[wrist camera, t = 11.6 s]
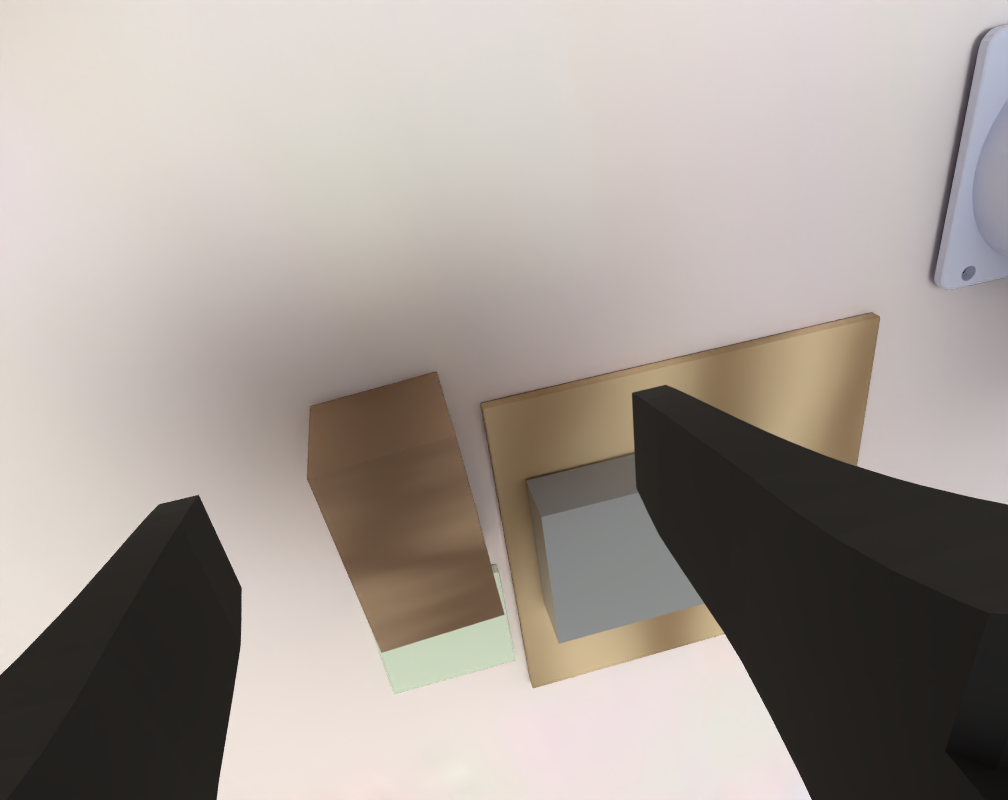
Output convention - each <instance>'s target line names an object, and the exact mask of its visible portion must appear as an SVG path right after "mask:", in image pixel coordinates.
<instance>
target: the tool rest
mask: <svg viewBox="0 0 1008 800" xmlns="http://www.w3.org/2000/svg"><path fill="white" fill-rule="evenodd" d="M491 567H492V570H493V574H494V578H495V581H496V585H497V589H498V592H499V596H500V599H501V603H502V607H503V610H504V614H505V615H502V616H499V617H496V618H493V619H489V620H486V621H483V622H480V623H476V624H473V625H470V626H467V627H464V628H460V629H457V630H454V631H451V632H447V633H444V634H441V635H438V636H435V637H431V638H428V639H425V640H422V641H418V642H415V643H412V644H409V645H406V646H402V647H399V648H396V649H393V650H389V651H386V652H383V653H381V650H380V648H379V646H378V643H377V641H376V643H377V646H378V649H379V652H380V655H381V658H382V660H383V663H384V666H385V669H386V672H387V675H388V678H389V681H390V684H391V687H392V690H393V693H394V694H397V693H401V692H404V691H408V690H411V689H415V688H419V687H422V686H426V685H429V684H433V683H437V682H440V681H444V680H447V679H451V678H455V677H458V676H462V675H465V674H469V673H473V672H476V671H480V670H483V669H487V668H491V667H494V666H498V665H501V664H505V663H508V662H512V661H515V656H514V651H513V645H512V640H511V635H510V630H509V624H508V619H507V614H506V609H505V604H504V598H503V593H502V588H501V583H500V577H499V572H498V569H497V565H492V566H491ZM374 637H375V636H374ZM375 640H376V639H375Z"/></svg>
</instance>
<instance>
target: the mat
mask: <svg viewBox="0 0 1008 800" xmlns="http://www.w3.org/2000/svg"><path fill="white" fill-rule="evenodd" d="M879 321H880V316H878V315H876V314H874V313H868V314H864V315H859V316H855V317H851V318H846V319H842V320H838V321H834V322H829V323H825V324H821V325H816V326H812V327H808V328H803V329H799V330H795V331H790V332H786V333H782V334H777V335H773V336H769V337H765V338H760V339H756V340H752V341H747V342H743V343H739V344H734V345H730V346H726V347H721V348H717V349H713V350H708V351H704V352H700V353H696V354H691V355H687V356H683V357H678V358H674V359H670V360H665V361H661V362H657V363H652V364H648V365H644V366H639V367H635V368H631V369H627V370H622V371H618V372H614V373H609V374H605V375H601V376H596V377H592V378H588V379H583V380H579V381H575V382H571V383H566V384H562V385H558V386H553V387H549V388H545V389H540V390H536V391H532V392H527V393H523V394H519V395H514V396H510V397H506V398H502V399H497V400H493V401H489V402H484V403H481V407H482V412H483V418H484V424H485V429H486V435H487V440H488V446H489V451H490V457H491V463H492V468H493V474H494V479H495V485H496V491H497V496H498V502H499V507H500V513H501V519H502V524H503V530H504V535H505V541H506V547H507V552H508V558H509V563H510V569H511V575H512V580H513V586H514V591H515V597H516V602H517V608H518V614H519V619H520V625H521V630H522V636H523V642H524V647H525V653H526V658H527V664H528V670H529V675H530V681H531V684H532V687H533V688H536V687H540V686H543V685H547V684H550V683H554V682H557V681H561V680H564V679H568V678H571V677H575V676H578V675H582V674H586V673H589V672H593V671H596V670H600V669H603V668H607V667H610V666H614V665H617V664H621V663H624V662H628V661H631V660H635V659H638V658H642V657H645V656H649V655H652V654H656V653H659V652H663V651H666V650H670V649H673V648H677V647H681V646H684V645H688V644H691V643H695V642H698V641H702V640H705V639H709V638H712V637H716V636H719V635H723V634H724V632H723V631H722V629H721V628H720V626H719V625H718V623H717V622H716V620H715V619H714V617H713V616H712V614H711V613H710V611H709V610H708V608H707V607H706V605H705V604H701V605H698V606H694V607H690V608H687V609H683V610H679V611H676V612H672V613H669V614H665V615H661V616H658V617H654V618H650V619H647V620H643V621H640V622H636V623H632V624H629V625H625V626H621V627H618V628H614V629H611V630H607V631H603V632H600V633H596V634H593V635H589V636H585V637H582V638H578V639H574V640H571V641H567V642H564V643H560V644H559V643H558V641H557V638H556V635H555V632H554V630H553V627H552V624H551V621H550V618H549V616H548V613H547V610H546V607H545V605H544V600H543V593H542V586H541V579H540V572H539V566H538V559H537V552H536V545H535V538H534V532H533V525H532V518H531V511H530V504H529V498H528V491H527V484H526V480H531V479H535V478H539V477H543V476H547V475H551V474H555V473H559V472H563V471H567V470H571V469H575V468H579V467H583V466H588V465H592V464H596V463H600V462H604V461H608V460H612V459H616V458H620V457H624V456H628V455H632V454H635V452H634V431H633V409H632V393H633V392H637V391H641V390H645V389H650V388H654V387H658V386H662V385H668V386H670V387H673V388H675V389H677V390H680V391H682V392H684V393H686V394H688V395H690V396H692V397H695V398H697V399H699V400H701V401H703V402H705V403H707V404H709V405H711V406H713V407H715V408H717V409H719V410H722V411H724V412H726V413H728V414H730V415H732V416H734V417H736V418H738V419H740V420H743V421H745V422H747V423H749V424H751V425H753V426H756V427H758V428H760V429H762V430H764V431H767V432H769V433H771V434H774V435H776V436H778V437H781V438H783V439H785V440H788V441H790V442H792V443H795V444H798V445H800V446H803V447H805V448H808V449H810V450H813V451H815V452H818V453H820V454H823V455H825V456H828V457H831V458H834V459H836V460H839V461H842V462H845V463H848V464H851V465H854V466H857V461H858V455H859V449H860V442H861V436H862V429H863V423H864V417H865V410H866V404H867V398H868V391H869V385H870V379H871V372H872V366H873V359H874V353H875V347H876V340H877V334H878V328H879Z"/></svg>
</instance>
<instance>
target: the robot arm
mask: <svg viewBox="0 0 1008 800" xmlns="http://www.w3.org/2000/svg"><path fill="white" fill-rule="evenodd" d="M965 269H966V270H965ZM964 270H965V272H964V273H963V271H964ZM962 273H963V274H962ZM1005 277H1008V25H1002V26H997V27H995V28H993V29H991V30H990V31H989V32H988V33H987V34H986V35H985V36H984V38H983V39H982V41H981V44H980V47H979V50H978V55H977V61H976V66H975V71H974V76H973V81H972V86H971V91H970V97H969V102H968V107H967V112H966V117H965V122H964V127H963V132H962V138H961V143H960V148H959V153H958V158H957V163H956V168H955V174H954V179H953V184H952V189H951V194H950V199H949V204H948V210H947V215H946V220H945V225H944V230H943V235H942V240H941V245H940V251H939V256H938V261H937V266H936V271H935V283H936V285H938V286H939V287H941V288H944V289H946V290H953V289H957V288H961V287H966V286H970V285H974V284H979V283H983V282H987V281H992V280H996V279H1000V278H1005ZM632 409H633V431H634V452H635V473H636V488H637V491H638V493H639V495H640V497H641V499H642V501H643V503H644V506H645V508H646V510H647V512H648V514H649V516H650V518H651V520H652V522H653V524H654V526H655V528H656V530H657V532H658V534H659V536H660V537H661V539H662V540H663V542H664V544H665V545H666V547H667V548H668V550H669V551H670V553H671V554H672V556H673V557H674V559H675V560H676V562H677V563H678V565H679V566H680V568H681V569H682V571H683V572H684V574H685V575H686V577H687V578H688V580H689V581H690V583H691V584H692V586H693V587H694V589H695V590H696V592H697V593H698V595H699V596H700V598H701V599H702V601H703V602H704V604H705V605H706V607H707V608H708V610H709V611H710V613H711V614H712V616H713V617H714V619H715V620H716V622H717V623H718V625H719V626H720V628H721V629H722V631H723V632H724V634H725V635H726V636H727V638H728V640H729V641H730V643H731V645H732V646H733V648H734V650H735V651H736V653H737V654H738V656H739V658H740V659H741V661H742V663H743V665H744V667H745V669H746V670H747V672H748V674H749V676H750V678H751V680H752V682H753V684H754V686H755V687H756V689H757V691H758V693H759V695H760V697H761V699H762V701H763V703H764V704H765V706H766V708H767V710H768V712H769V714H770V716H771V718H772V720H773V722H774V724H775V726H776V728H777V730H778V732H779V734H780V736H781V738H782V740H783V742H784V744H785V746H786V748H787V750H788V752H789V754H790V756H791V758H792V760H793V762H794V764H795V766H796V768H797V770H798V772H799V774H800V776H801V778H802V780H803V782H804V784H805V786H806V788H807V790H808V792H809V795H810V797H811V799H812V800H1008V505H1007V504H1002V503H997V502H992V501H987V500H982V499H977V498H972V497H968V496H963V495H959V494H955V493H951V492H947V491H943V490H938V489H934V488H930V487H926V486H922V485H918V484H914V483H910V482H907V481H903V480H899V479H896V478H892V477H889V476H886V475H883V474H879V473H876V472H873V471H870V470H867V469H864V468H860V467H857V466H854V465H851V464H848V463H845V462H842V461H839V460H836V459H834V458H831V457H828V456H825V455H823V454H820V453H818V452H815V451H813V450H810V449H808V448H805V447H803V446H800V445H798V444H795V443H792V442H790V441H788V440H785V439H783V438H781V437H778V436H776V435H774V434H771V433H769V432H767V431H764V430H762V429H760V428H758V427H756V426H753V425H751V424H749V423H747V422H745V421H743V420H740V419H738V418H736V417H734V416H732V415H730V414H728V413H726V412H724V411H722V410H719V409H717V408H715V407H713V406H711V405H709V404H707V403H705V402H703V401H701V400H699V399H697V398H695V397H692V396H690V395H688V394H686V393H684V392H682V391H680V390H677V389H675V388H673V387H670V386H668V385H662V386H658V387H654V388H650V389H645V390H641V391H637V392H633V393H632ZM241 592H242V588H241V586H240V583H239V581H238V579H237V577H236V575H235V573H234V570H233V568H232V566H231V564H230V562H229V560H228V557H227V555H226V553H225V551H224V549H223V547H222V544H221V542H220V540H219V538H218V536H217V534H216V531H215V529H214V527H213V525H212V523H211V521H210V518H209V516H208V514H207V512H206V510H205V508H204V505H203V503H202V501H201V499H200V497H199V495H197V496H192V497H188V498H184V499H180V500H176V501H171V502H167V503H163V504H159V505H158V506H157V507H156V508H155V509H154V510H153V511H152V512H151V513H150V514H149V515H148V516H147V517H146V518H145V520H144V521H143V522H142V523H141V524H140V525H139V526H138V527H137V529H136V530H135V531H134V532H133V533H132V534H131V535H130V537H129V538H128V539H127V540H126V541H125V542H124V543H123V545H122V546H121V547H120V548H119V549H118V550H117V552H116V553H115V554H114V555H113V556H112V557H111V558H110V560H109V561H108V562H107V563H106V564H105V565H104V566H103V567H102V569H101V570H100V571H99V572H98V573H97V574H96V575H95V577H94V578H93V579H92V580H91V581H90V582H89V583H88V584H87V586H86V587H85V588H84V589H83V590H82V591H81V592H80V594H79V595H78V596H77V597H76V598H75V599H74V600H73V601H72V602H71V603H70V604H69V605H68V607H67V608H66V609H65V610H64V611H63V612H62V613H61V614H60V615H59V616H58V617H57V618H56V619H55V620H54V621H53V622H52V623H51V624H50V625H49V626H48V627H47V628H46V630H45V631H44V632H43V633H42V634H41V635H40V636H39V637H38V638H37V639H36V640H35V641H34V642H33V643H32V644H31V645H30V646H29V647H28V648H27V649H26V650H25V651H24V652H23V654H22V655H21V656H20V657H19V658H18V659H16V660H15V661H14V662H13V663H12V664H11V665H10V666H9V667H8V668H7V669H6V670H5V671H4V672H3V673H2V674H1V675H0V800H217V791H218V783H219V777H220V770H221V764H222V758H223V752H224V746H225V740H226V734H227V728H228V722H229V716H230V710H231V704H232V698H233V691H234V685H235V679H236V672H237V666H238V659H239V652H240V645H241Z"/></svg>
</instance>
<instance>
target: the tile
mask: <svg viewBox="0 0 1008 800" xmlns="http://www.w3.org/2000/svg"><path fill="white" fill-rule="evenodd" d="M526 484H527V491H528V498H529V504H530V511H531V518H532V525H533V532H534V538H535V545H536V552H537V559H538V566H539V572H540V579H541V586H542V593H543V600H544V605H545V607H546V610H547V613H548V616H549V618H550V621H551V624H552V627H553V630H554V632H555V635H556V638H557V641H558V643H559V644H560V643H564V642H567V641H571V640H574V639H578V638H582V637H585V636H589V635H593V634H596V633H600V632H603V631H607V630H611V629H614V628H618V627H621V626H625V625H629V624H632V623H636V622H640V621H643V620H647V619H650V618H654V617H658V616H661V615H665V614H669V613H672V612H676V611H679V610H683V609H687V608H690V607H694V606H698V605H701V604H704V602H703V601H702V599H701V598H700V596H699V595H698V593H697V592H696V590H695V589H694V587H693V586H692V584H691V583H690V581H689V580H688V578H687V577H686V575H685V574H684V572H683V571H682V569H681V568H680V566H679V565H678V563H677V562H676V560H675V559H674V557H673V556H672V554H671V553H670V551H669V550H668V548H667V547H666V545H665V544H664V542H663V540H662V539H661V537H660V536H659V534H658V532H657V530H656V528H655V526H654V524H653V522H652V520H651V518H650V516H649V514H648V512H647V510H646V508H645V506H644V503H643V501H642V499H641V497H640V495H639V493H638V491H637V488H636V473H635V454H632V455H628V456H624V457H620V458H616V459H612V460H608V461H604V462H600V463H596V464H592V465H588V466H583V467H579V468H575V469H571V470H567V471H563V472H559V473H555V474H551V475H547V476H543V477H539V478H535V479H531V480H526Z"/></svg>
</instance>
